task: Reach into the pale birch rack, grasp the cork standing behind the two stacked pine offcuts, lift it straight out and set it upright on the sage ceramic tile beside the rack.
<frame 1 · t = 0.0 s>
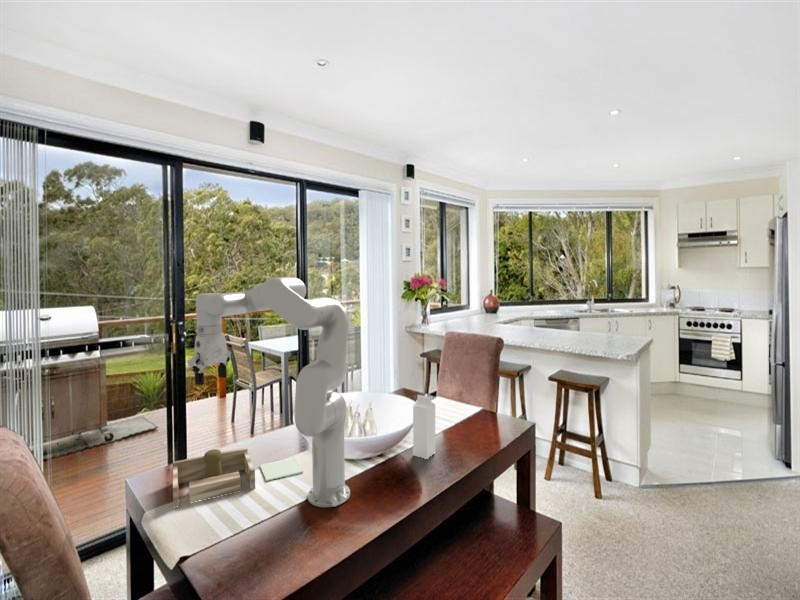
hand: (211, 380, 138), 31 cm above the table, tool pointing down, fingers open, 9 cm apart
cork: (213, 485, 131), on the table
milk: (424, 455, 151), on the table
tile: (281, 469, 140), on the table
rack: (214, 486, 130), on the table
offcut top: (215, 487, 125), point 2 cm above the table, touching offcut low
offcut low: (215, 495, 125), on the table, touching offcut top
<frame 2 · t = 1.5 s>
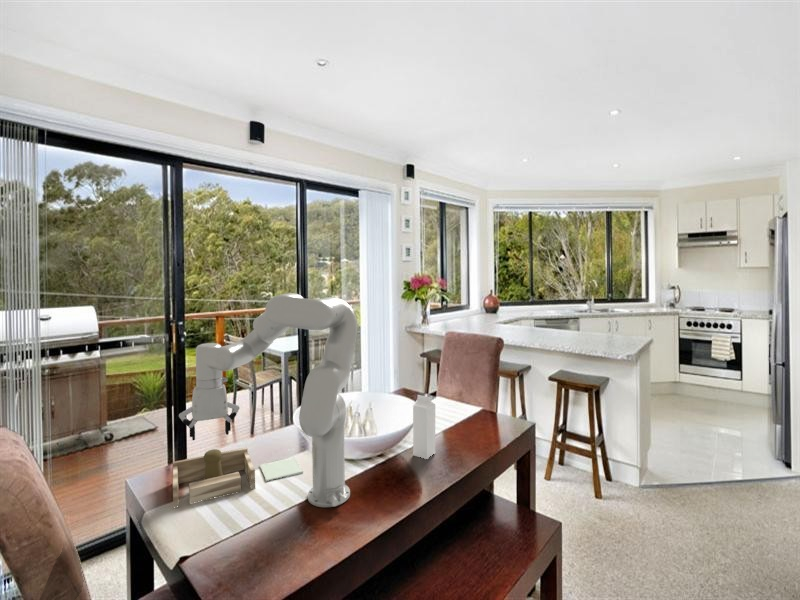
hand: (210, 436, 130), 16 cm above the table, tool pointing down, fingers open, 9 cm apart
nothing on the table moved.
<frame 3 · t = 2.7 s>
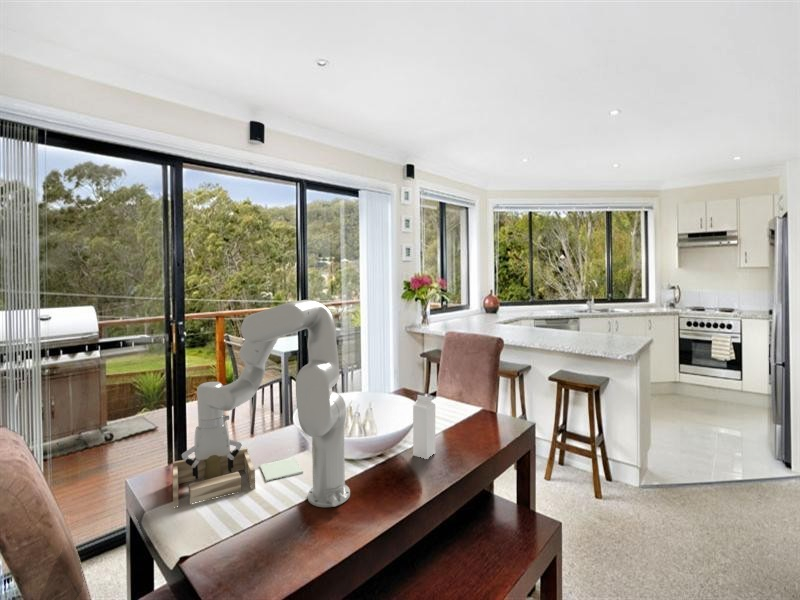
hand: (213, 474, 131), 3 cm above the table, tool pointing down, fingers open, 9 cm apart
nothing on the table moved.
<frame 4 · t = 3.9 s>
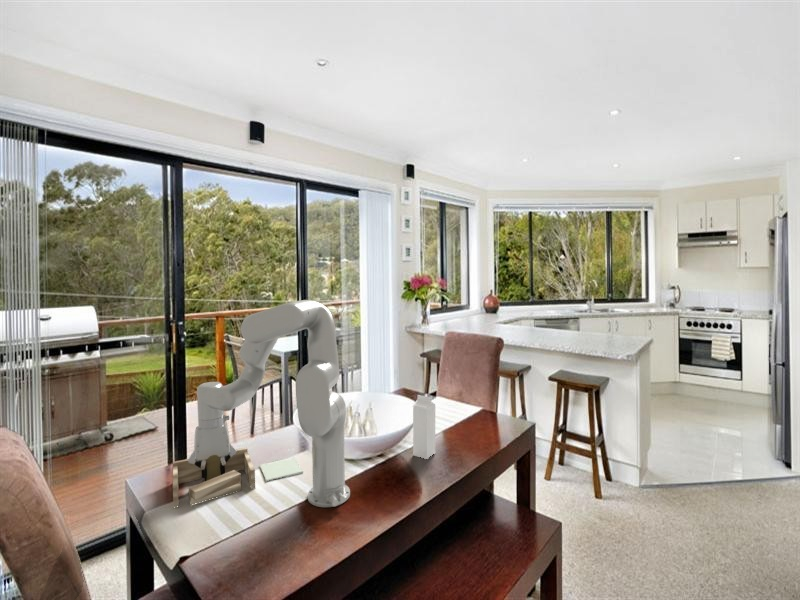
hand: (213, 477, 131), 2 cm above the table, tool pointing down, fingers closed on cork, 4 cm apart
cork: (213, 485, 131), on the table, touching gripper
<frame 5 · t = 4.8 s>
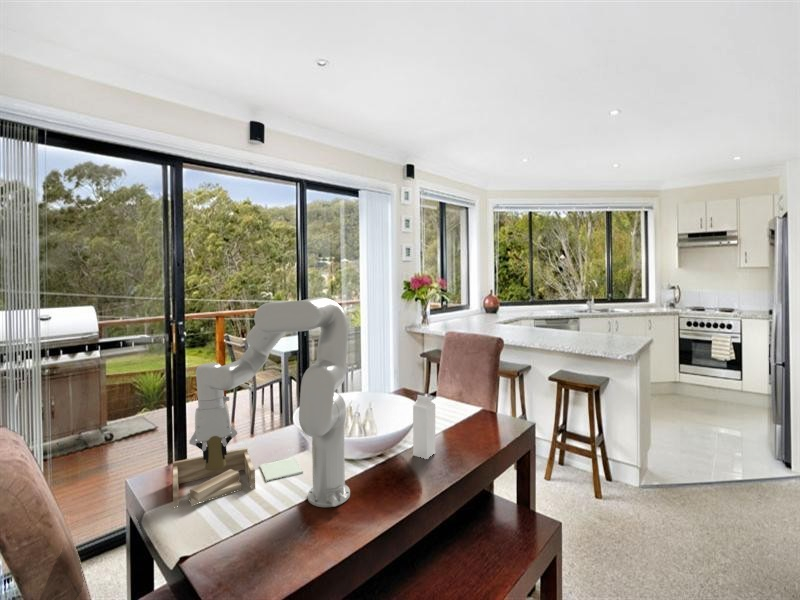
hand: (215, 458, 130), 8 cm above the table, tool pointing down, fingers closed on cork, 4 cm apart
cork: (215, 466, 130), point 6 cm above the table, touching gripper
offcut top: (215, 488, 125), point 2 cm above the table
offcut low: (215, 496, 125), on the table
everything else where it was.
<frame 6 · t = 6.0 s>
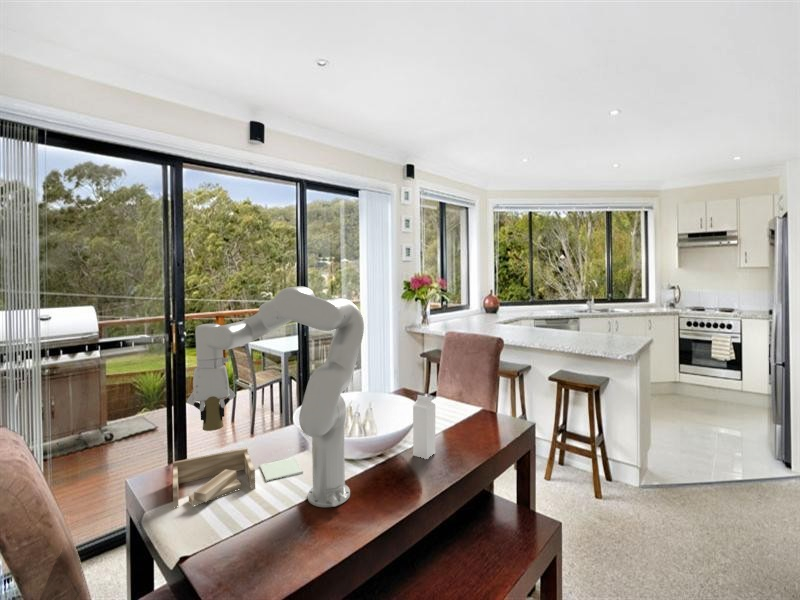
hand: (212, 420, 130), 21 cm above the table, tool pointing down, fingers closed on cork, 4 cm apart
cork: (213, 427, 130), point 18 cm above the table, touching gripper
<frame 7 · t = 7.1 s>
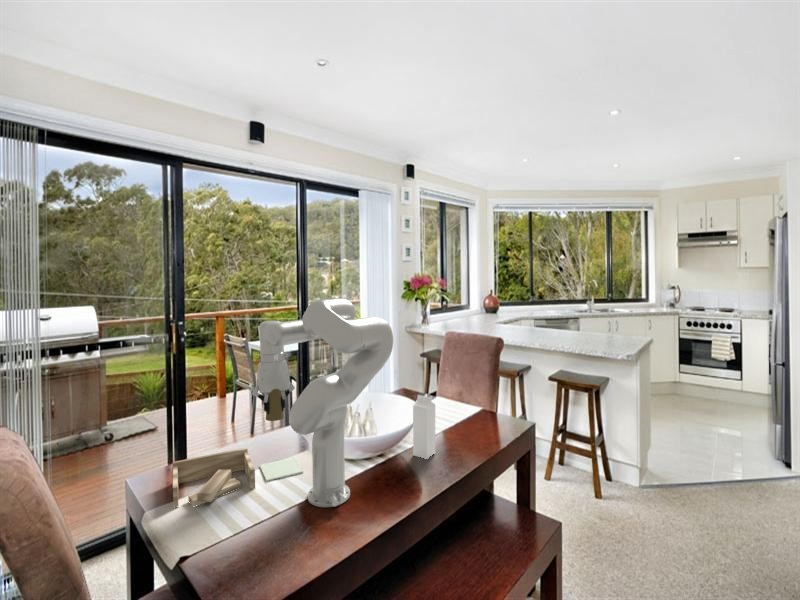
hand: (274, 411, 138), 21 cm above the table, tool pointing down, fingers closed on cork, 4 cm apart
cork: (274, 418, 138), point 18 cm above the table, touching gripper
offcut top: (215, 488, 125), point 2 cm above the table, touching offcut low
offcut low: (215, 496, 125), on the table, touching offcut top
everything else where it was.
when the fingers open (4 cm above the table, at t = 11.3 s): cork drops 2 cm, resting on tile.
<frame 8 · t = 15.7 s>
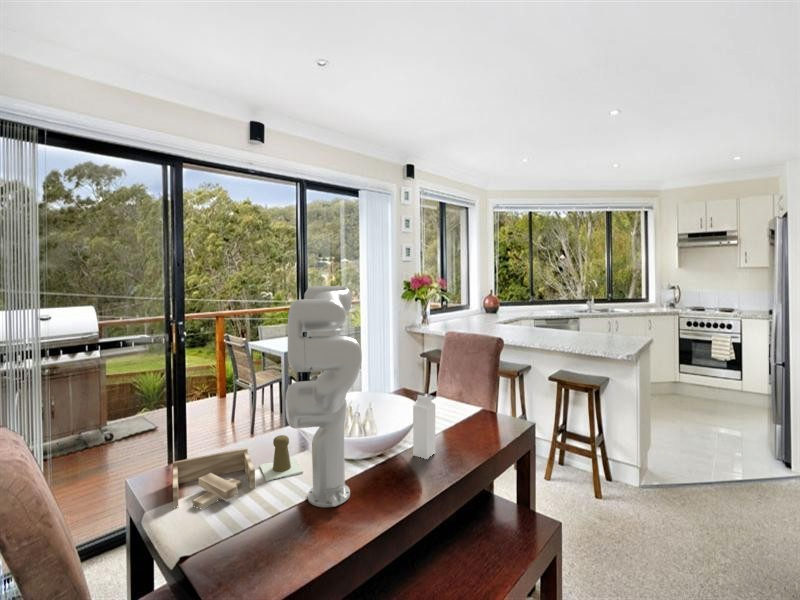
hand: (322, 371, 141), 33 cm above the table, tool pointing down, fingers open, 9 cm apart
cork: (281, 468, 140), resting on tile
offcut top: (217, 489, 124), point 2 cm above the table, touching offcut low
offcut low: (218, 498, 124), on the table, touching offcut top
everything else where it was.
at the end: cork inside the target area on the tile (0.3 cm from its centre), point 0.4 cm above the tile's base; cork tilted 0°; offcut top moved 1.7 cm from its start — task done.
